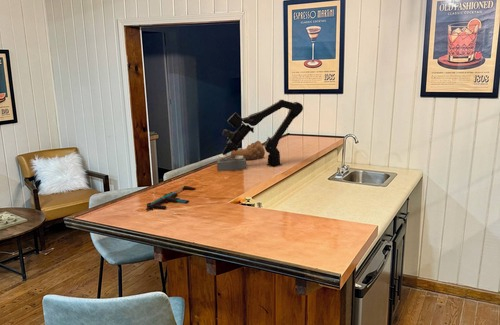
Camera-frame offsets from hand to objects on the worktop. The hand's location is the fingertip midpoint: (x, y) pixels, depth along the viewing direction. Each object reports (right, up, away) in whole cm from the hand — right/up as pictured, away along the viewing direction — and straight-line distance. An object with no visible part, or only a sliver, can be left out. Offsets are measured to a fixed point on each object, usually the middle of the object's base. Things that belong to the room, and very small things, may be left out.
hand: (222, 154), depth 230 cm
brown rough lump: (+15, -2, +24) cm, 28 cm away
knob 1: (0, -7, +2) cm, 7 cm away
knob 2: (+9, -7, +2) cm, 12 cm away
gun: (-18, -22, -45) cm, 53 cm away
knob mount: (+5, -8, +2) cm, 10 cm away
